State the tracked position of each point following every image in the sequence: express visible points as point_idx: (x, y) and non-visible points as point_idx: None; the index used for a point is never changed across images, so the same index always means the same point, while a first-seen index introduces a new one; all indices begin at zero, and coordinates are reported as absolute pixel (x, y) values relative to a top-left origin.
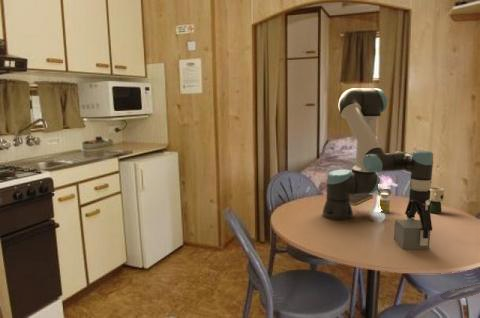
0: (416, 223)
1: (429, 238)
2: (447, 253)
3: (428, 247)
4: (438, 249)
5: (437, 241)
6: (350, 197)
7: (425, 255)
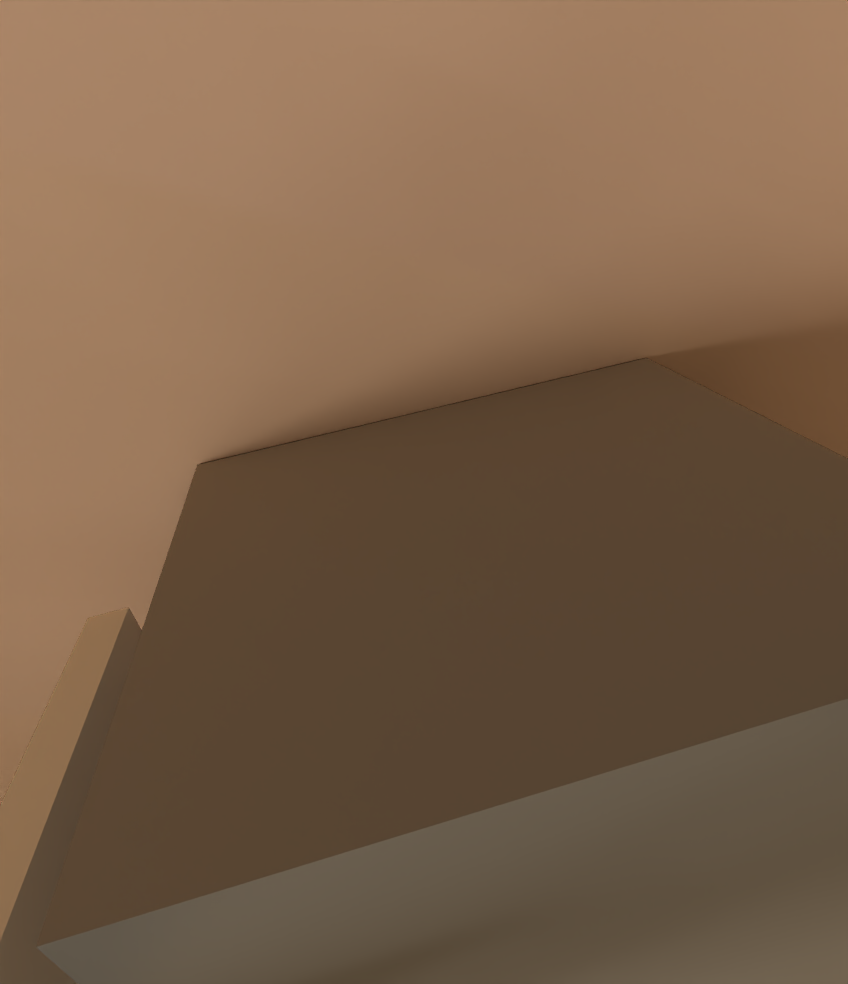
0: (604, 943)
1: (799, 443)
2: (837, 34)
3: (662, 377)
4: (650, 174)
5: (146, 23)
6: None
7: (843, 448)
